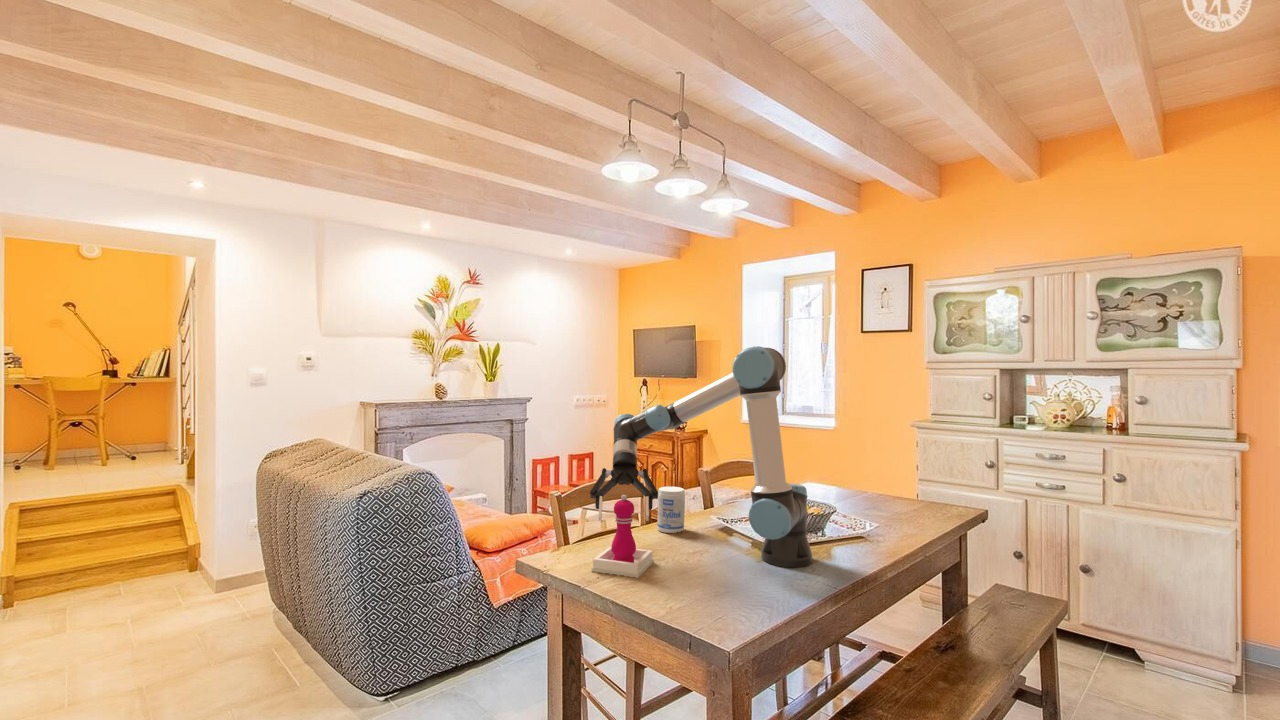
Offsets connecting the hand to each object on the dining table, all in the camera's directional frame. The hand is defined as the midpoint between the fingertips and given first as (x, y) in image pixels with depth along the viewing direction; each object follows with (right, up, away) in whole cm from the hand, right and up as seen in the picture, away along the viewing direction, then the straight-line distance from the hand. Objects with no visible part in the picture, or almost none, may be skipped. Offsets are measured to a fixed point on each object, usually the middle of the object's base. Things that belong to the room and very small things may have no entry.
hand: (623, 518), depth 173 cm
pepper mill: (0, -14, +2) cm, 14 cm away
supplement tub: (+16, -15, +41) cm, 47 cm away
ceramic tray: (0, -15, +2) cm, 15 cm away
